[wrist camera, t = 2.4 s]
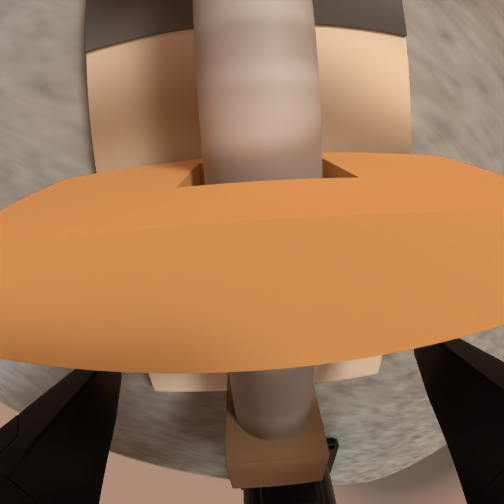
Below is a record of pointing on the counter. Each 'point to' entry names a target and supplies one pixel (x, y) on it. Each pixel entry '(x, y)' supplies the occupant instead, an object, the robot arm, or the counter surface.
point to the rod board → (251, 151)
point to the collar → (251, 266)
